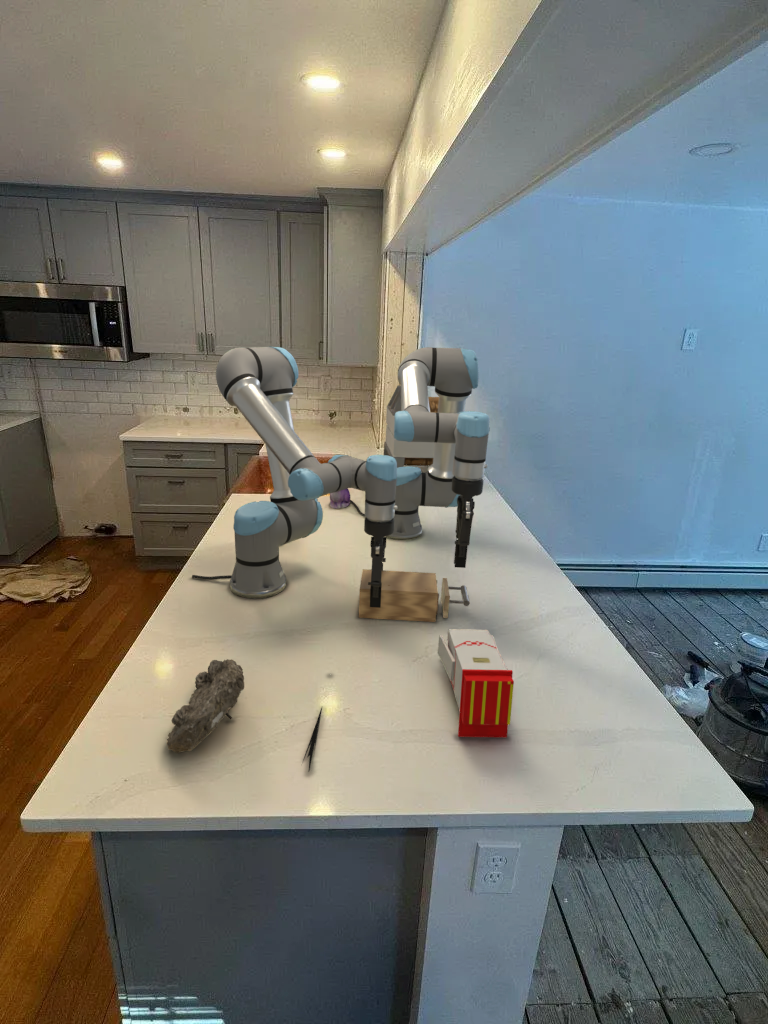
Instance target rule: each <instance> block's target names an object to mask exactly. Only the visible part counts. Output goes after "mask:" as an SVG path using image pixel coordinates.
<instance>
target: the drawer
mask: <svg viewBox="0 0 768 1024" xmlns="http://www.w3.org/2000/svg"><path fill="white" fill-rule="evenodd" d="M450 590H453V591H460V594H461V599H462V600H458V599H457V600H456V599H450V598H451V594H450ZM439 598H440V599H439ZM439 601H440V603H441V611H442V612H441V613H442V618H443V619H448V618H449V609H450V604H457V605H458V604H461V605H463V606H465V607H469V606H470V604H471V602H470V598H469V593H468V589H467V585H465V584H462V585H460V586H449V581H448V578H447V577H442V580H441V591H440V593H439V592H438V599H437V610H436V615H438V611H439Z"/></svg>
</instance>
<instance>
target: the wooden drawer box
mask: <svg viewBox="0 0 768 1024" xmlns="http://www.w3.org/2000/svg"><path fill="white" fill-rule="evenodd" d="M371 573H372V569H366V568H365V569H364V568H363V569H362V571H361V577H360V585H359V598H358V599H359V600H358V618H359V619H374V620H375V619H376V620H377V619H378V620H392V621H411V622H430V623H436V621H437V614H436V610H437V599H438V593H439V590H438V580H437V574H436V573H435V572H419V571H404V570H403V571H401V570H387V569H385V570H384V569H383V570H382V574H381V582H382V586H381V607H380V608H376V607H370V589H371V585H368V582H371Z"/></svg>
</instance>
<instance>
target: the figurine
mask: <svg viewBox="0 0 768 1024" xmlns="http://www.w3.org/2000/svg"><path fill="white" fill-rule="evenodd" d="M350 493H351V492H350V490H349V488H347V489H344V490H341V491H338V492H334V493H330V494H329V500H330V501H329V506H330V508H331V509H344V508H345V509H346V508H347V507H349V506H350V503H351V502H350V500H351V494H350Z"/></svg>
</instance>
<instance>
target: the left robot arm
mask: <svg viewBox="0 0 768 1024" xmlns="http://www.w3.org/2000/svg"><path fill="white" fill-rule="evenodd" d="M298 379H299V367H298V364H297V361H296V359H295V358H294V356H293V355H292V353H290V352H289V351H288V350H287V349H285V348H283V347H280V346H271V345H269V346H252V347H251V346H250V347H235V348H232V349H230V350H228V351H226V352H225V353H224V354H223V355H221V357H220V358H219V360H218V363H217V364H216V369H215V380H216V385H217V387H218V390H219V392H220V394H221V395H222V397H223V398H224V399H225V401H226V402H227V403H228V405H229V406H231V407H235V408H237V410H238V411H239V412H240V414H241V415H242V416H243V418H244V419H245V420H246V422H248V424H249V425H250V426H251V428H252V429H253V430H254V431H255V433H256V434H257V435H258V436H259V438H260V439H261V440H262V441H263V443H264V444H265V449H266V454H267V460H268V466H269V471H270V475H271V476H270V477H271V481H272V487H273V491H272V493H271V494H270V495H269V500H270V501H269V500H258V501H256V500H255V501H251V502H247V503H245V504H243V505H241V506H239V508H237V509H236V511H235V512H234V515H233V531H234V549H235V551H234V553H235V563H234V566H233V570H232V573H231V574H230V575H215V576H205V575H197V574H192V575H191V579H197V580H205V581H214V580H229V585H230V587H229V589H230V590H231V592H232V593H233V594H235V595H236V596H239V597H242V598H246V599H263V598H264V599H265V598H269V597H272V596H275V595H277V594H280V593H281V592H283V591H284V590H285V589H286V587H287V576H286V574H285V571H284V568H283V566H282V564H281V561H280V547H281V546H284V545H286V544H290V543H292V542H294V541H297V540H300V539H304V538H305V539H306V538H307V537H309V536H310V535H312V534H314V533H316V532H317V531H318V530H319V529H320V527H321V525H322V523H323V518H324V511H323V507H322V505H321V502H320V501H319V498H321V497H324V496H326V495H330V493H334V492H338V491H341V490H344V489H355V490H358V491H361V492H364V513H363V514H364V515H365V516H364V517H365V518H364V521H363V523H364V524H363V525H364V526H363V527H364V528H363V531H364V533H365V534H366V535H368V536H370V545H369V546H370V558H371V570H372V573H371V582H368V585H371V589H370V607H376V608H380V607H381V586H382V582H381V574H382V570H384V563H386V561H387V558H386V557H385V554H386V548H387V539H388V538H387V537H385V536H389V535H391V534H393V532H394V519H393V518H394V515H395V510H394V509H397V508H398V507H397V506H395V493H396V482H397V462H396V460H395V458H393V457H391V456H387V455H384V454H372V455H369V456H368V457H367V458H366V459H365V460H364V459H361V458H357V457H353V456H351V455H348V454H334V455H333V456H332V457H331V458H330V459H329V460H328V461H327V462H323V463H321V462H320V461H319V460H318V458H317V457H316V456H315V455H314V454H313V453H312V452H311V450H310V448H308V446H307V445H306V444H305V443H304V442H303V440H302V439H301V438H300V437H299V435H298V434H297V433H296V431H295V427H294V421H293V415H292V411H291V404H290V400H291V398H292V397H293V395H294V390H293V388H294V387H295V386H296V385H297V383H298Z"/></svg>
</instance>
